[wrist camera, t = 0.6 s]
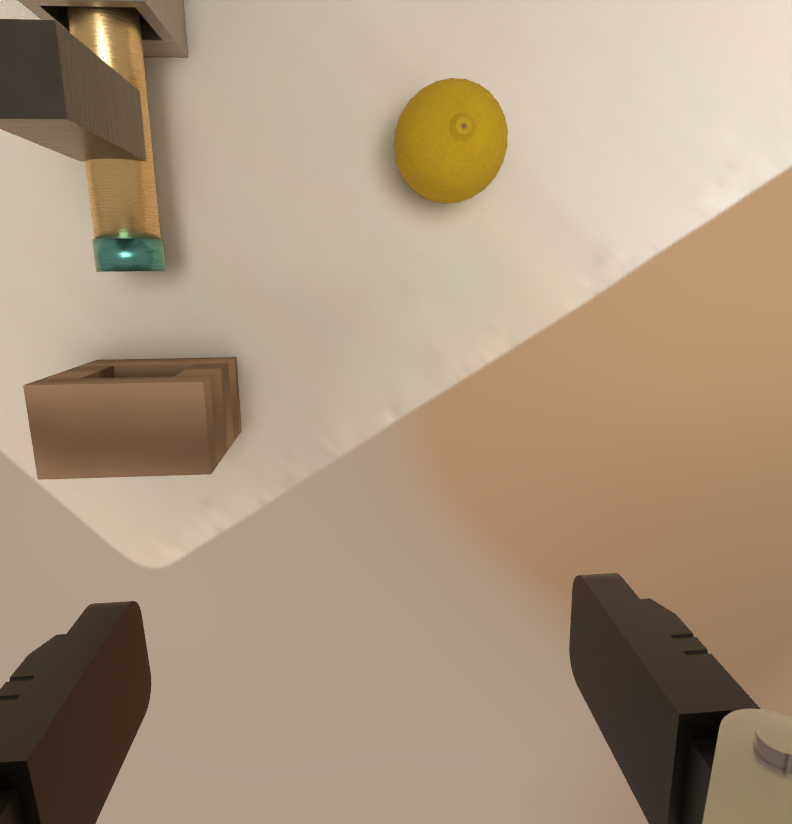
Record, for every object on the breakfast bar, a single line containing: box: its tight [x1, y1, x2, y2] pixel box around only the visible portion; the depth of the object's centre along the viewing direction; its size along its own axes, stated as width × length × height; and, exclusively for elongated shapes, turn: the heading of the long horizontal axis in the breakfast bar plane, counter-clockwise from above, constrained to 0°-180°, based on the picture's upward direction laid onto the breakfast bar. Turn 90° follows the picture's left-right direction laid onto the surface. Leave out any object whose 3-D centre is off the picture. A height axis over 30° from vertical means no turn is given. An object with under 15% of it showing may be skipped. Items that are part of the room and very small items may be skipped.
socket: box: [23, 357, 241, 479], centre depth 32 cm, size 4×8×8 cm, turn 90°
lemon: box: [394, 78, 508, 203], centre depth 30 cm, size 6×6×8 cm
